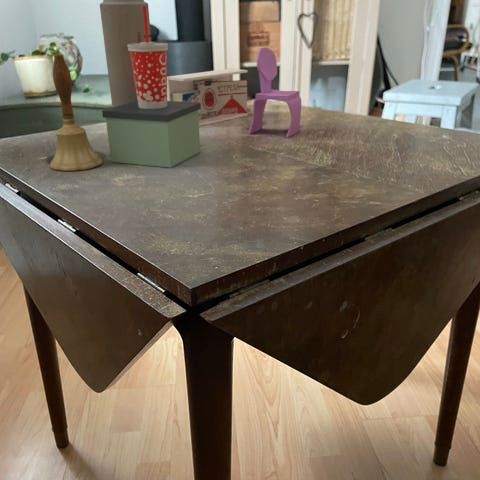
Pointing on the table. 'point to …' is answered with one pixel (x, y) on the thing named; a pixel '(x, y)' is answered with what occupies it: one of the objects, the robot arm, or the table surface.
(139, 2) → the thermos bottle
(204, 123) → the cigarette display
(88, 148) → the hand bell
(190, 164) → the table surface
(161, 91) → the beverage cup
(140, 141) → the storage box
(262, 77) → the toy chair
